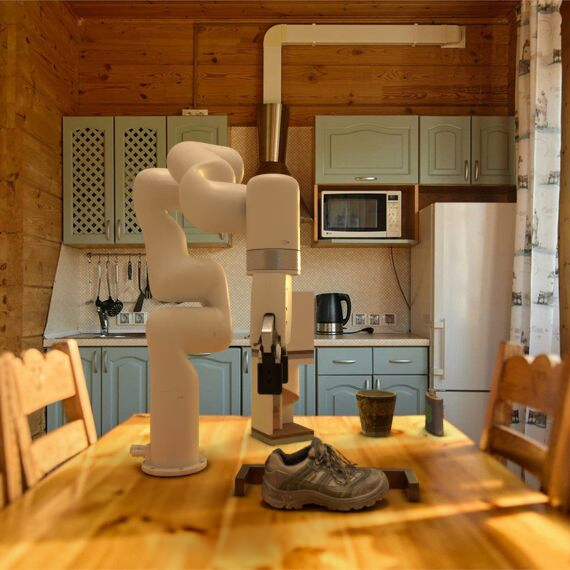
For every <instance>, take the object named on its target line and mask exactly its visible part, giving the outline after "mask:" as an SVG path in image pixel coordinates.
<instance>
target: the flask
mask: <svg viewBox="0 0 570 570" xmlns="http://www.w3.org/2000/svg"><path fill="white" fill-rule="evenodd" d="M437 391H438V389H437V388H436V389H434V388H428V392H425V394H424V395H425V396H424V397H425V398H424V399H425V403H424V405H425V406H424V407H425V408H424V409H425V411H424V413H425V415H424V417H425V419H424V430H425V431H426V432H428V433H430V434H431V435H434V436H435V437H441V436H444V433H445V432H444V429H445V428H444V398H442V397H440V396H438V395H437Z"/></svg>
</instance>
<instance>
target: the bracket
mask: <svg viewBox="0 0 570 570" xmlns="http://www.w3.org/2000/svg"><path fill="white" fill-rule="evenodd" d="M264 465H265V463H264V464H263V463H262V464H261V463H260V464H259V463H242V464H241V466H240V467H239V470H238V471H237V473H236V475H235V477H234V496H238V497H239V496H240V497H243V496H244V497H245V494H246V492H247V490H248V488H249V486H250V484H253V485H254V484H255V485H258V484H259V485H262V483H263V476H264V474H265V466H264ZM345 467H346V469H349V468H351V467H347V466H345ZM355 467H356V468H362V467H363V466H355ZM366 467H367V466H366ZM367 468H373V469H376V470H381V471H382V472H383V473H384V474H385V475H386V477H387V479H388V483H389V489H404V491H405V494H406V497H407V499H408V502H414V503H415V502H420V483H419V481H418V478H417V476H416V474H415V471H414V470H413V468H403V467H370V466H369V467H367Z"/></svg>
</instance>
